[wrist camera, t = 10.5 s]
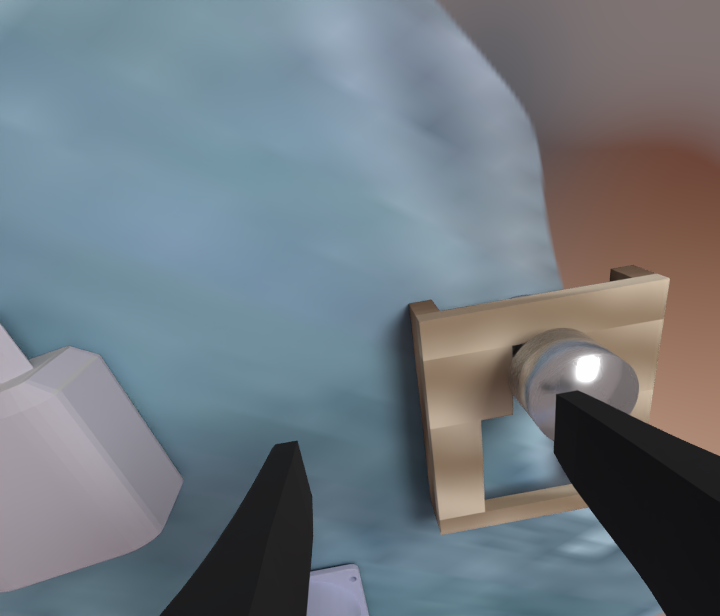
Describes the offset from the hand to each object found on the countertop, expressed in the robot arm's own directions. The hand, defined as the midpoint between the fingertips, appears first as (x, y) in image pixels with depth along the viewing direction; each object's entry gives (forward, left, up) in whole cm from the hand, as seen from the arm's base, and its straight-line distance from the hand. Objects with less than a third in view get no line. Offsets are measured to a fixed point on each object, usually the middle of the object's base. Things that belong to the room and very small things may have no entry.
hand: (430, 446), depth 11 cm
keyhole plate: (-7, -8, -10) cm, 15 cm away
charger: (-2, +18, -11) cm, 22 cm away
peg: (-3, -8, -10) cm, 13 cm away
